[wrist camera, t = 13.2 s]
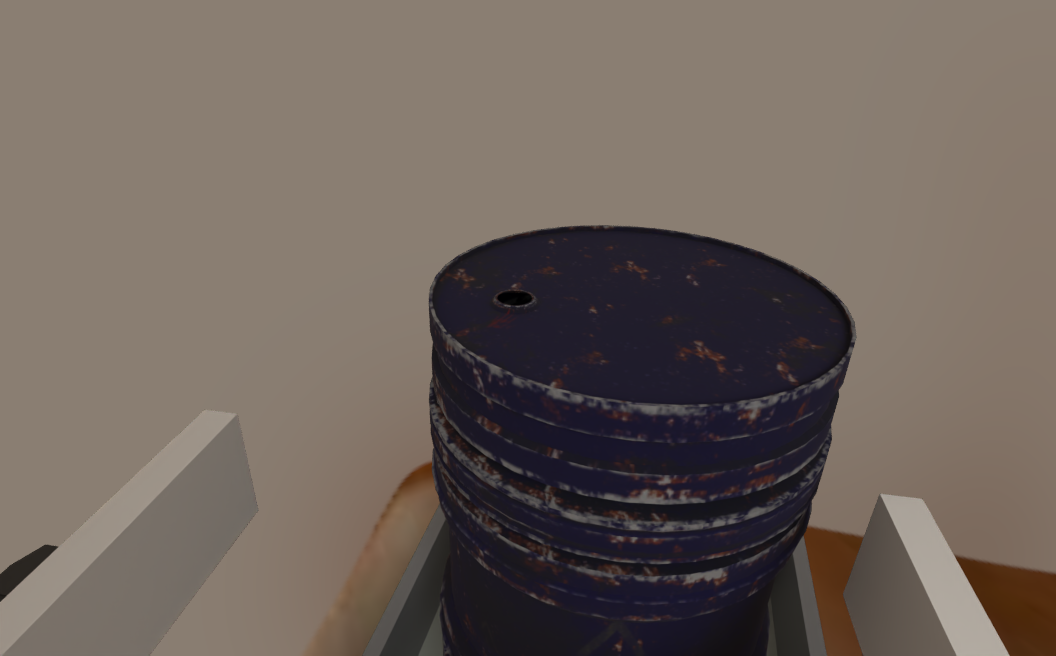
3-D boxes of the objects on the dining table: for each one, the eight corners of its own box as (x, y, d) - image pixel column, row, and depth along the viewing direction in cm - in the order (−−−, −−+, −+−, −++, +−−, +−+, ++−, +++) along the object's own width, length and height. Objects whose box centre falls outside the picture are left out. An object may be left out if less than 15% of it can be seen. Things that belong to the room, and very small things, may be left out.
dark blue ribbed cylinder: (674, 560, 27) (735, 219, 20) (801, 822, 19) (980, 386, 12) (437, 590, 26) (415, 230, 19) (456, 893, 17) (431, 435, 10)
